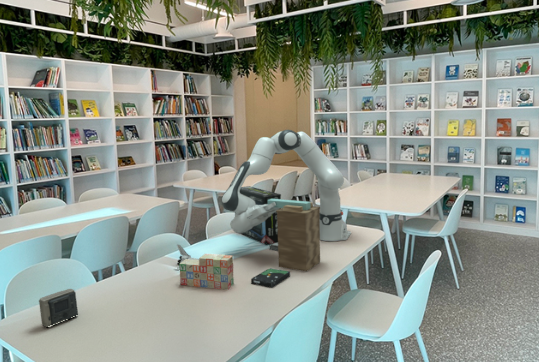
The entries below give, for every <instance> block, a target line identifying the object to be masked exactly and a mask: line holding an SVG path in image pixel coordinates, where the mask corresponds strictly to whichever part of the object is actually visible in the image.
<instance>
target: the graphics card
mask: <svg viewBox="0 0 539 362" xmlns="http://www.w3.org/2000/svg"><path fill="white" fill-rule="evenodd" d="M268 245H269V246H268V247H269V248H268V249H269V251H271V250H272V251H276V252H278V243H273V244H268Z"/></svg>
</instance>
